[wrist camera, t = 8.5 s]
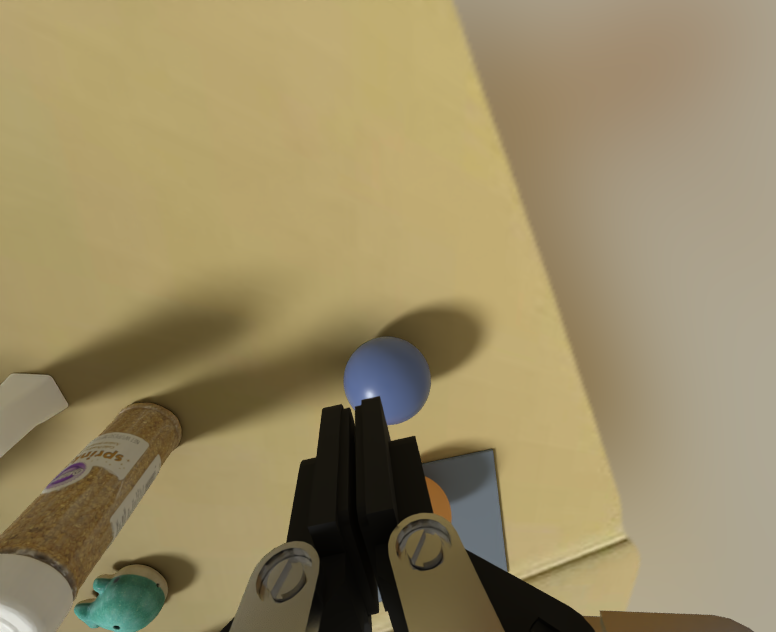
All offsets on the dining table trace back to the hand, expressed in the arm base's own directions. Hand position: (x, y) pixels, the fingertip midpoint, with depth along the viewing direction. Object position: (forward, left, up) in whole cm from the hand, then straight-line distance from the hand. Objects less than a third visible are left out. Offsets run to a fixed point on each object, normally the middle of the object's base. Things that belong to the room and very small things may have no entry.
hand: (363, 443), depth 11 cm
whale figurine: (+21, -24, -16) cm, 36 cm away
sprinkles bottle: (+7, -17, -15) cm, 23 cm away
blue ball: (+5, +1, -12) cm, 13 cm away
